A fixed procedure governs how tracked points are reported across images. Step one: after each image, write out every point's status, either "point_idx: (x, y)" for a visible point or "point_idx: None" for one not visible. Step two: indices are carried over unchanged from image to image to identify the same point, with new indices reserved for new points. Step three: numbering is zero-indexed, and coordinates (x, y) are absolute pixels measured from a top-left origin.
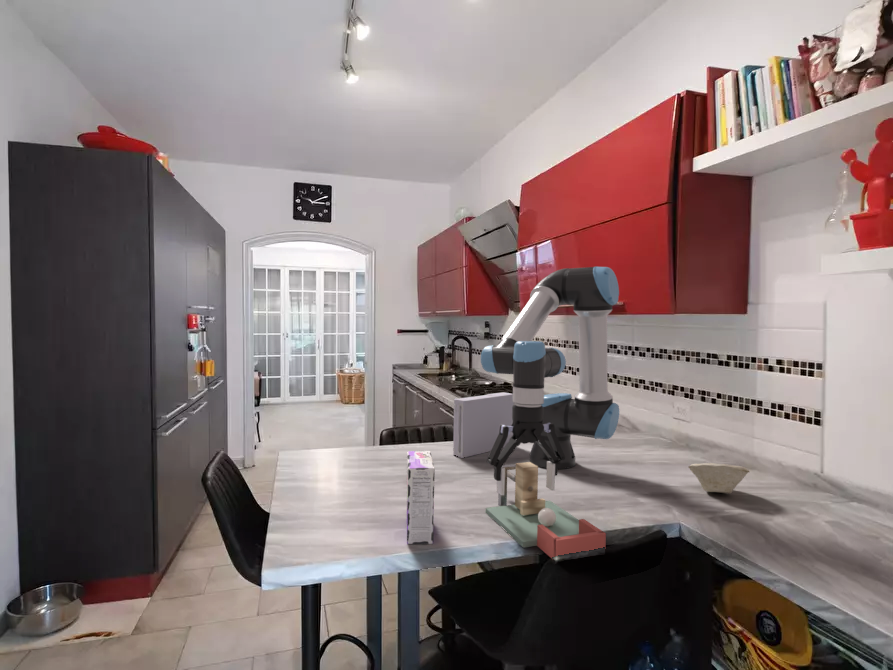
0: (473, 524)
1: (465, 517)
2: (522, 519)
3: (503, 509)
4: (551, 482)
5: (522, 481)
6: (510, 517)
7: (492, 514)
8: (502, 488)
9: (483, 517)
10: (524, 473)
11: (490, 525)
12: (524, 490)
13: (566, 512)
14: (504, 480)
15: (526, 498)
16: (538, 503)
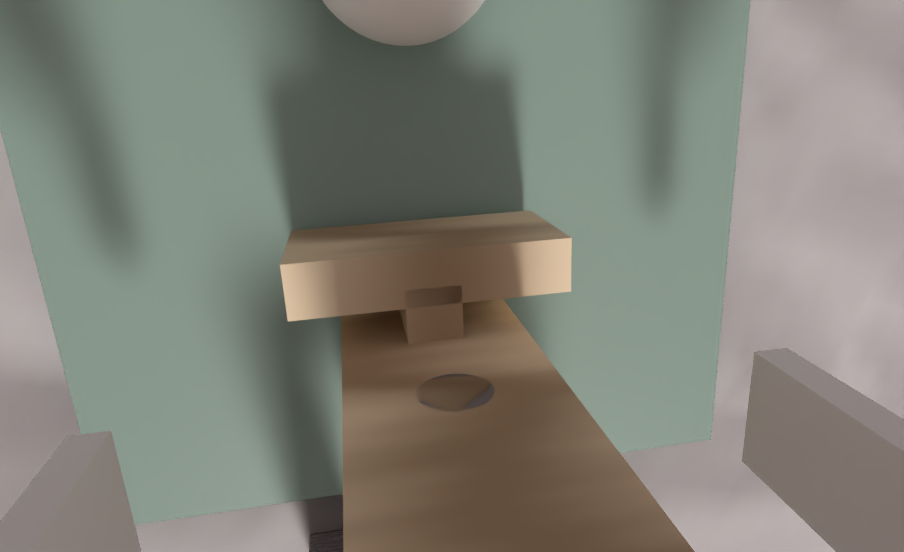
0: (859, 242)
1: (847, 365)
2: (546, 162)
3: (599, 391)
4: (71, 511)
5: (605, 449)
6: (622, 226)
7: (719, 317)
8: (836, 383)
9: (740, 345)
10: (644, 523)
11: (763, 200)
12: (535, 377)
13: (42, 232)
14: (898, 441)
15: (482, 338)
16: (372, 247)
